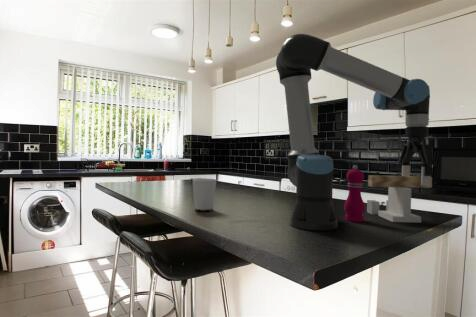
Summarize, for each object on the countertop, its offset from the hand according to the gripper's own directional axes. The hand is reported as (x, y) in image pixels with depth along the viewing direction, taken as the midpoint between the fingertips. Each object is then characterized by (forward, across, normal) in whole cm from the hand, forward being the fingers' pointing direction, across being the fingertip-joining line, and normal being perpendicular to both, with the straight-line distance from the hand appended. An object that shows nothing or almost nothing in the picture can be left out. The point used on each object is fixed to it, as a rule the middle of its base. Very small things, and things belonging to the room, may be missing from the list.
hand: (414, 183), depth 119 cm
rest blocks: (+13, +11, +7) cm, 19 cm away
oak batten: (+1, 0, +6) cm, 6 cm away
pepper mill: (+14, -4, +24) cm, 28 cm away
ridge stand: (+13, 0, +6) cm, 14 cm away
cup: (+14, +11, +80) cm, 82 cm away
